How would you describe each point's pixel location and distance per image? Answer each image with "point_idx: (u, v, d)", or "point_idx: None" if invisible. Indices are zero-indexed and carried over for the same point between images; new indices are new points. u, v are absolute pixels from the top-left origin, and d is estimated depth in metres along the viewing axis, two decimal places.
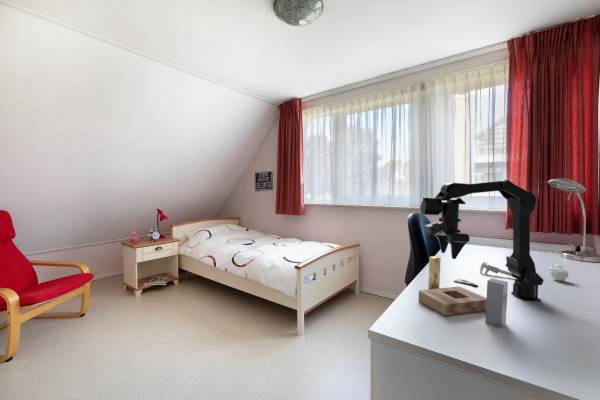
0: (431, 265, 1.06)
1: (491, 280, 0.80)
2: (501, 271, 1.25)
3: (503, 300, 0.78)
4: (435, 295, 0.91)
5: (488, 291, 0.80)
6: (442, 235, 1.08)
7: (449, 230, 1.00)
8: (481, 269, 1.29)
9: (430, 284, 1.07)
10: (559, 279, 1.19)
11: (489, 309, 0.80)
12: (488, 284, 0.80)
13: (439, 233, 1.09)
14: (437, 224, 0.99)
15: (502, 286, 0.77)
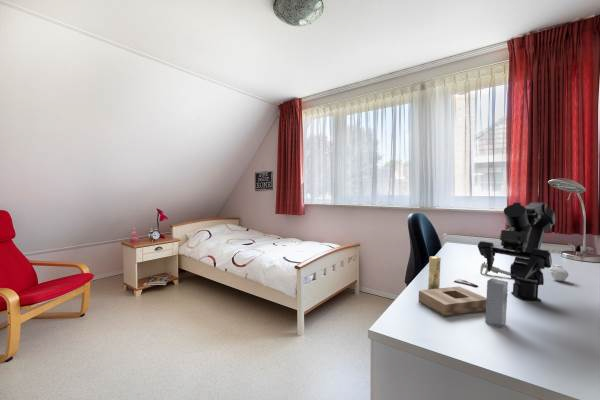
0: (431, 265, 1.06)
1: (491, 280, 0.81)
2: (501, 271, 1.25)
3: (503, 300, 0.78)
4: (435, 295, 0.91)
5: (488, 291, 0.80)
6: (491, 253, 0.92)
7: None
8: (481, 269, 1.29)
9: (430, 284, 1.07)
10: (559, 279, 1.19)
11: (489, 309, 0.80)
12: (488, 284, 0.80)
13: (491, 249, 0.92)
14: (528, 234, 0.84)
15: (502, 286, 0.77)
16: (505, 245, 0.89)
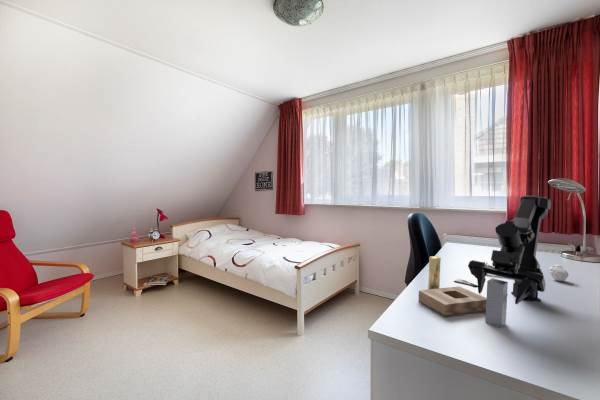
0: (431, 265, 1.06)
1: (491, 280, 0.80)
2: None
3: (503, 300, 0.78)
4: (435, 295, 0.91)
5: (488, 291, 0.80)
6: (482, 273, 0.87)
7: None
8: None
9: (430, 284, 1.07)
10: (559, 279, 1.19)
11: (489, 309, 0.80)
12: (488, 284, 0.80)
13: (482, 269, 0.87)
14: (521, 255, 0.79)
15: (502, 286, 0.77)
16: (497, 266, 0.84)
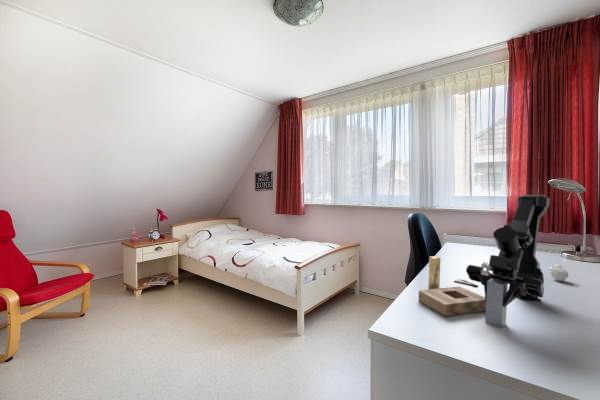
0: (431, 265, 1.06)
1: (491, 280, 0.80)
2: None
3: (503, 300, 0.78)
4: (435, 295, 0.91)
5: (488, 291, 0.80)
6: None
7: (513, 275, 0.81)
8: None
9: (430, 284, 1.07)
10: (559, 279, 1.19)
11: (489, 309, 0.80)
12: (488, 284, 0.80)
13: (488, 276, 0.84)
14: (519, 260, 0.78)
15: (502, 286, 0.77)
16: (495, 271, 0.83)
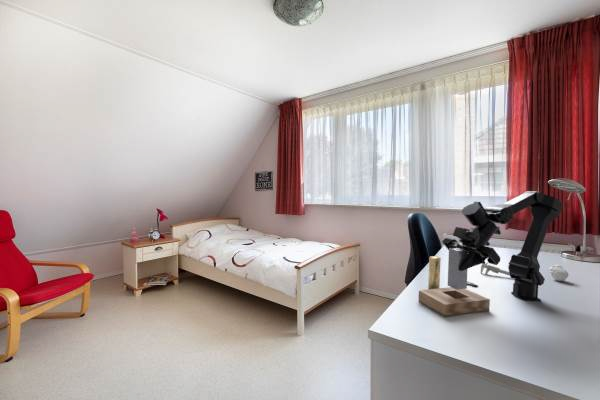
0: (431, 265, 1.06)
1: (453, 248, 0.92)
2: (501, 271, 1.25)
3: (459, 265, 0.89)
4: (435, 295, 0.91)
5: (449, 257, 0.92)
6: None
7: (477, 245, 0.90)
8: (481, 269, 1.29)
9: (430, 284, 1.07)
10: (559, 279, 1.19)
11: (449, 273, 0.92)
12: (449, 251, 0.92)
13: (457, 247, 0.95)
14: (477, 231, 0.88)
15: (458, 252, 0.89)
16: (462, 242, 0.94)
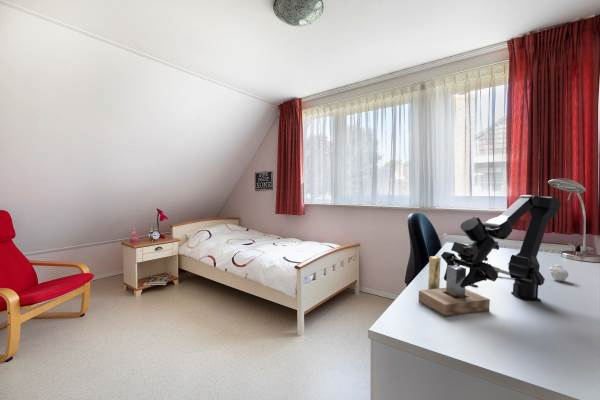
0: (431, 265, 1.06)
1: (451, 266, 0.93)
2: (502, 271, 1.25)
3: (457, 283, 0.90)
4: (435, 295, 0.91)
5: (447, 275, 0.93)
6: (454, 264, 0.97)
7: (475, 261, 0.91)
8: None
9: (430, 284, 1.07)
10: (559, 279, 1.19)
11: (448, 290, 0.93)
12: (447, 269, 0.93)
13: (453, 260, 0.97)
14: (475, 247, 0.88)
15: (455, 270, 0.90)
16: (461, 256, 0.94)
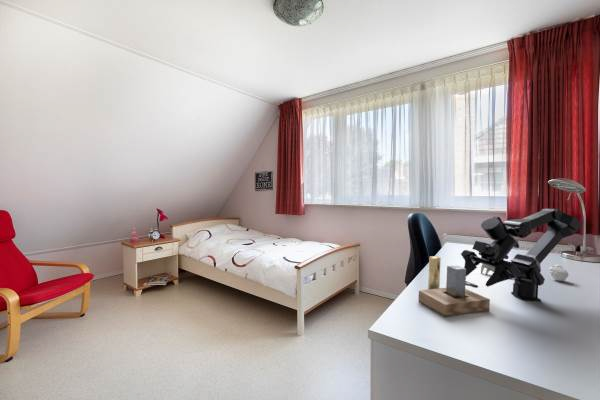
0: (431, 265, 1.06)
1: (451, 266, 0.93)
2: None
3: (457, 283, 0.90)
4: (435, 295, 0.91)
5: (447, 275, 0.93)
6: (472, 261, 1.00)
7: (496, 259, 0.93)
8: (482, 269, 1.29)
9: (430, 284, 1.07)
10: (559, 279, 1.19)
11: (448, 290, 0.93)
12: (447, 269, 0.93)
13: (471, 258, 1.00)
14: (497, 246, 0.91)
15: (455, 270, 0.90)
16: (482, 255, 0.97)
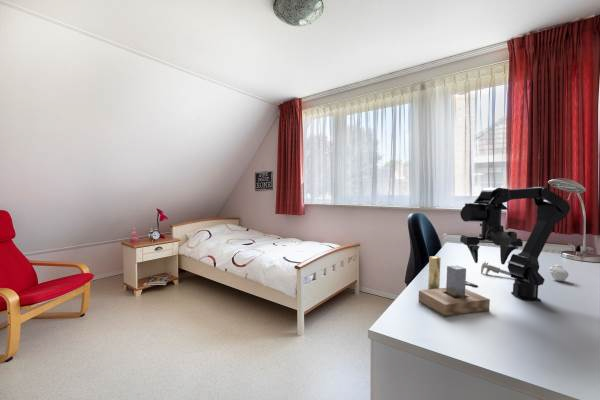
0: (431, 265, 1.06)
1: (451, 266, 0.93)
2: (502, 271, 1.25)
3: (457, 283, 0.90)
4: (435, 295, 0.91)
5: (447, 275, 0.93)
6: None
7: None
8: (482, 269, 1.29)
9: (430, 284, 1.07)
10: (559, 279, 1.19)
11: (448, 290, 0.93)
12: (447, 269, 0.93)
13: None
14: None
15: (455, 270, 0.90)
16: None
